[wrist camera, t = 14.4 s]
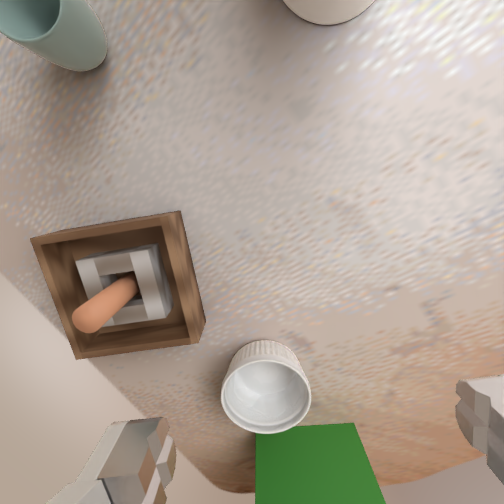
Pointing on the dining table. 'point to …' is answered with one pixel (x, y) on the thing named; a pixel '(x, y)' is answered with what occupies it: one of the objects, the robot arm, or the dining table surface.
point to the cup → (56, 31)
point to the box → (114, 267)
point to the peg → (105, 304)
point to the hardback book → (314, 467)
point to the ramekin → (265, 388)
